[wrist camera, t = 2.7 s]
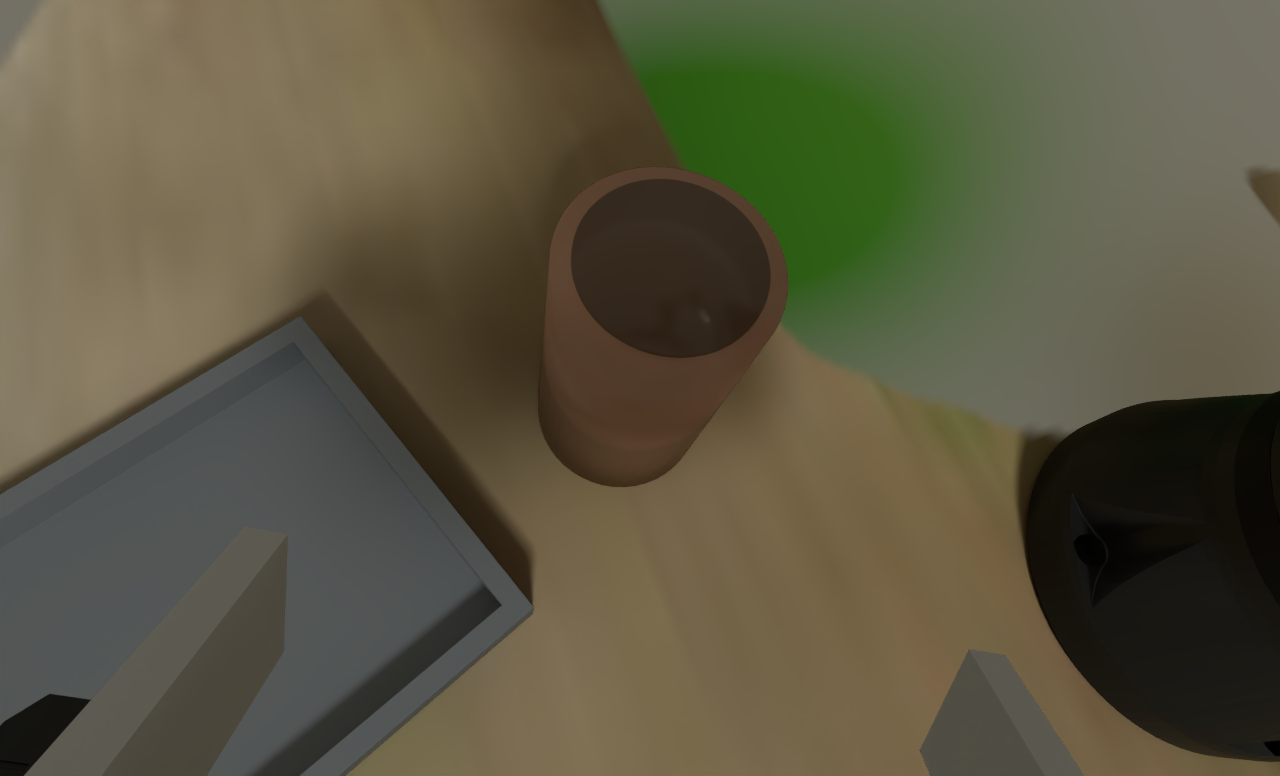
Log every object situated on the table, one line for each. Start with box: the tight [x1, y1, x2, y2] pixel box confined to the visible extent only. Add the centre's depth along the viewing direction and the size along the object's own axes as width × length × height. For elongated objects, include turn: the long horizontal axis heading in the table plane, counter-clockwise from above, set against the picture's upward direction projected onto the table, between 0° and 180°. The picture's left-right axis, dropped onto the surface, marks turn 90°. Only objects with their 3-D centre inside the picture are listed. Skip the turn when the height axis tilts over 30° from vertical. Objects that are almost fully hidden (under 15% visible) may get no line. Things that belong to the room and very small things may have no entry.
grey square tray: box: [0, 316, 534, 776], centre depth 25 cm, size 15×18×2 cm
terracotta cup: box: [538, 167, 788, 487], centre depth 26 cm, size 7×7×12 cm
